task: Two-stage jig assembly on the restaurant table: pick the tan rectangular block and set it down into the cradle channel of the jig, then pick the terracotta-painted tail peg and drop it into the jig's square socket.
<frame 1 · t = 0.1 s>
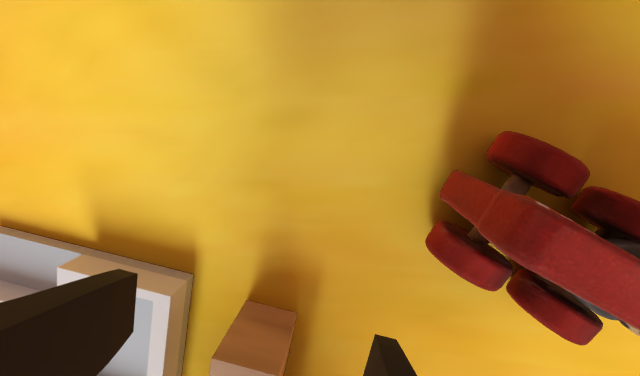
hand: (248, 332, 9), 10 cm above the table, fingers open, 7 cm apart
tan rectangular block: (262, 357, 22), on the table
jig: (92, 316, 22), on the table
toy fire truck: (522, 223, 18), on the table
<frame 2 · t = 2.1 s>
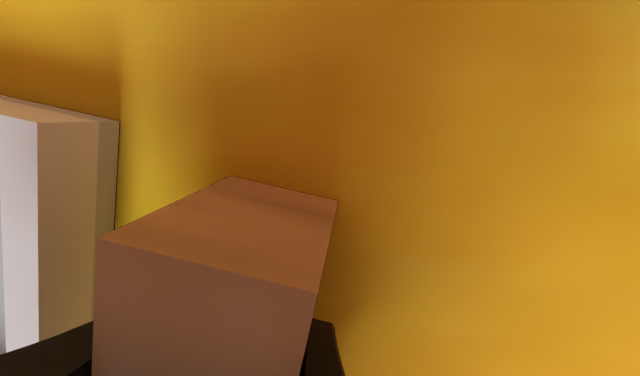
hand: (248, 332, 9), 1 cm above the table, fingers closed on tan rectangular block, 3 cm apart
tan rectangular block: (262, 304, 11), on the table, touching gripper
when the fingers open (3 cm above the table, at t = 4.7 s): tan rectangular block stays where it is, resting on jig.
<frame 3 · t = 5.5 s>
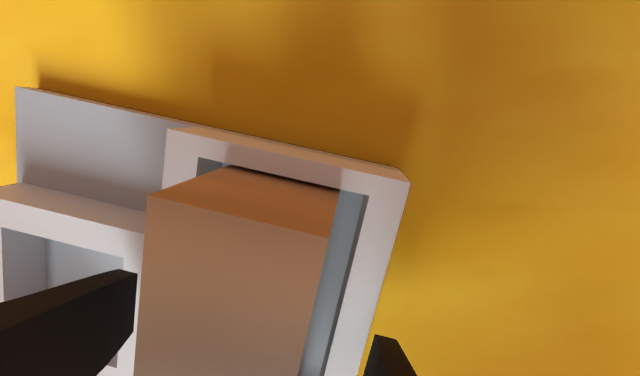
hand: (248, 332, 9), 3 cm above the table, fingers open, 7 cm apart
tan rectangular block: (272, 277, 12), point 1 cm above the table, touching jig
jig: (195, 255, 13), on the table
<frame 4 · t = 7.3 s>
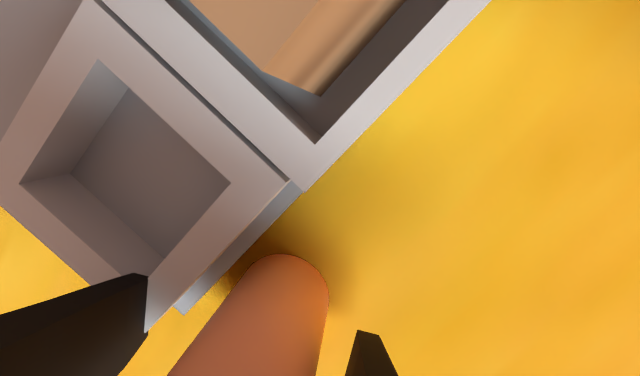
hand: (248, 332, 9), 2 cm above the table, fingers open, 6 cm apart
tail peg: (284, 296, 11), on the table
jig: (199, 54, 10), on the table
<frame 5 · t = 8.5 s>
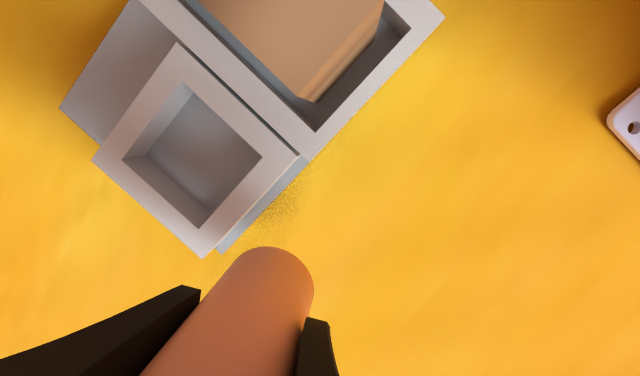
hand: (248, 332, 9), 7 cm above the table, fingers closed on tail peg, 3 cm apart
tail peg: (269, 287, 12), point 5 cm above the table, touching gripper
tan rectangular block: (273, 2, 13), point 1 cm above the table, touching jig
jig: (236, 75, 15), on the table
when the fingers open (3 cm above the table, at t = 10.7 s): tail peg stays where it is, resting on jig.
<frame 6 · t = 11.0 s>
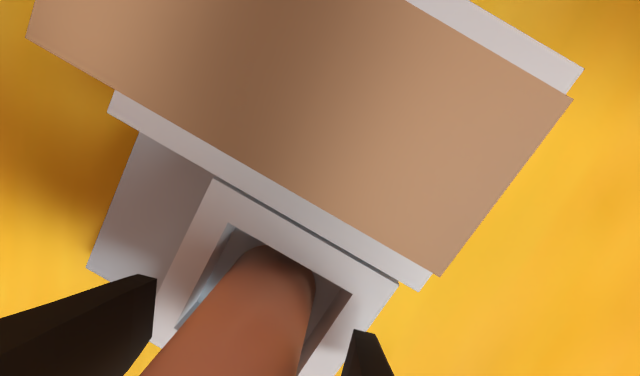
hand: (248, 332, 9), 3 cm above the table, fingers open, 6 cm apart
tail peg: (272, 285, 12), point 1 cm above the table, touching jig
tan rectangular block: (318, 91, 10), point 1 cm above the table, touching jig
jig: (284, 182, 12), on the table
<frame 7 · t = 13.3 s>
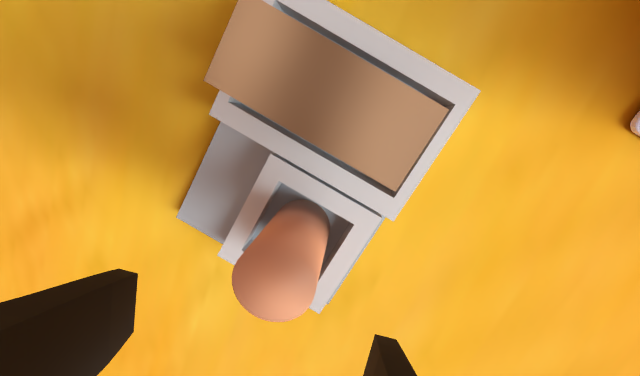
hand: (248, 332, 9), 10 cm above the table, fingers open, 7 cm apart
tail peg: (302, 226, 18), point 1 cm above the table, touching jig
tan rectangular block: (332, 101, 16), point 1 cm above the table, touching jig
jig: (310, 159, 18), on the table
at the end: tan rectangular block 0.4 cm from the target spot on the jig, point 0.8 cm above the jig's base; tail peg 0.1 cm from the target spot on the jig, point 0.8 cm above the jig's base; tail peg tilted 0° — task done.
